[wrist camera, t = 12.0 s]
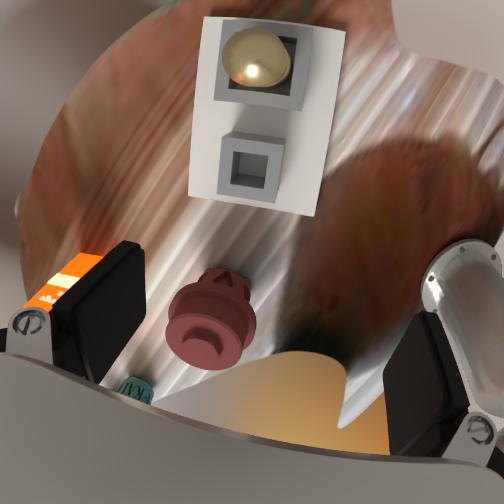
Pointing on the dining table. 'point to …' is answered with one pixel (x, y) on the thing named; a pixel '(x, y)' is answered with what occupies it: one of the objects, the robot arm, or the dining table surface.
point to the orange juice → (63, 281)
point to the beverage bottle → (137, 390)
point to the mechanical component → (212, 320)
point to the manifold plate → (264, 120)
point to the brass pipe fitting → (257, 59)
